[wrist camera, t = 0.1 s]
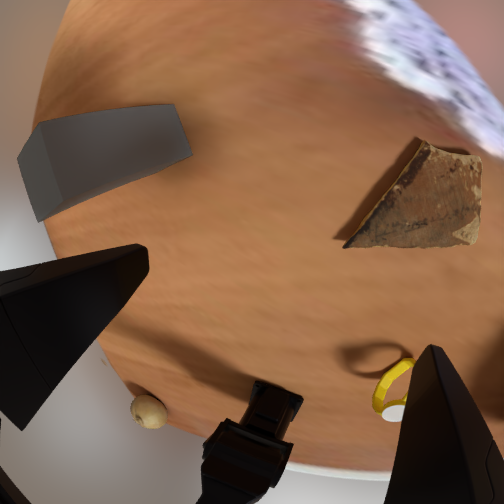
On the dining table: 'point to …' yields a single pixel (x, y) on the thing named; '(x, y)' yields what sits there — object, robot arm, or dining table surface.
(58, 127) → the slate block
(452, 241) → the shard
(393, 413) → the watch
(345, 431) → the dining table surface
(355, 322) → the dining table surface
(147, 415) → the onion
